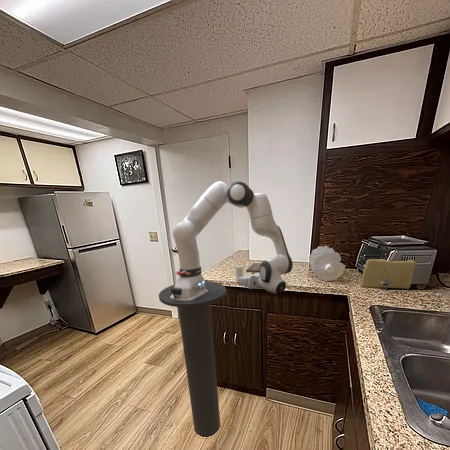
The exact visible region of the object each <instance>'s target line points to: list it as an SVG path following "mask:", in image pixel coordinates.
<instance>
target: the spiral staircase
mask: <svg viewBox="0 0 450 450" xmlns="http://www.w3.org/2000/svg"><path fill="white" fill-rule="evenodd" d="M308 259H309V260H308V265H309V268H310V269H311V272H312V273H313V276H314V277H317V278H318V279H319V280H320V281H326V282H330V281H334V280H338V278H339V277H340V276H342V275H343V274H344V270H345V269H346V265H345V264H344V263H342V262H341V261H342V257H341V255H340V253H339V252H336V251H335V250H334V249H333V247H329V246H327V245H324V246H319V245H318V246H317V248H315V249H313V250H311V253H310V254H309V256H308Z"/></svg>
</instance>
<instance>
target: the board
mask: <svg viewBox="0 0 450 450" xmlns="http://www.w3.org/2000/svg"><path fill="white" fill-rule="evenodd" d="M261 263H262V262H260V263H259V262H254V263H252V264H251V265H250V266H249V267H248V268H246V270H245V271H246V272H247V273H254V272H255V273H259V268H260V265H261Z"/></svg>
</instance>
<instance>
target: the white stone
mask: <svg viewBox="0 0 450 450" xmlns="http://www.w3.org/2000/svg"><path fill="white" fill-rule="evenodd" d="M234 269H235V271H234V273H235V282H238V278H239V277H240V276H241V275H242V276H244V265H240V264H239V265H235V266H234Z"/></svg>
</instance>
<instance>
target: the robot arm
mask: <svg viewBox="0 0 450 450" xmlns="http://www.w3.org/2000/svg"><path fill="white" fill-rule="evenodd" d="M226 204H230V205H232V206H233V207H236V208H240V209H242V208H246V209H247V212H248V214H249V220H250V225H251V228H252V231H253V232H254V233H256V234H257V235H258V236H261V237H265V238H268V239H270V240H271V241H272V244H273V247H274V249H275V252H276V257H273V258H269V259H265V260H263V261H262V262H260V263H261V265H260V268H259V273H258V272H251V274H247V275H243V276H242V275H241V276H240V277H239V278H238V281H237V283H238V284H239V285H240V286H242V287H245V288H247V289H249V290H255V289H256V290H257V289H258V290H263V291H265V292H268V293H270V294H274V295H280V294H282V293H283V292H284V291H285V290H286V288H287V282H286V281H285V280H284V279H283V278H282V276H281V275H287V274H289V273H291V271H292V269H293V265H294V262H293V260H292V257H291V256H290V254H289V251H288V247H287V244H286V241H285V238H284V234H283V231H282V229H281V227H280V226H279V225H278V224H277V223H276V221H275V218H274V216H273V215H274V214H273V211H272V207H271V203H270V200H269V197H268V195H267V194H266V193H264V192H257V193H254V191H253V190H252V189H251V187H250V186H249V185H248V184H247V183H246V182H244V181H242V180H235V181H233V182H231V183H230V184H229V185H228V184H226V183H225V182H223V181H221V180H217V181H215V182H213V183H212V184H211V185H210V186H209V187H208V188H207V189H206V190H205V191H204V192H203V193H202V195H201V196H199V198H198V199H197V200H196V202H195V203H194V204H193V206H192V207H191V208H190V210H189V211H188V213H186V215H185V217H184V218H183V219H182V220H181V221H179V222H177V223H176V224H175V225H174V227H173V230H172V237H173V239H174V243H175V246H176V250H177V254H178V261H179V270H177V271H176V275H177V276H178V278H177V280H176V282H175V284H174V285H175V286H174V288H172V289H171V294H172V295H171V297H170V299H172V300H176V301H193V300H195V299H197V298H198V297H200V296H202V295H204V294H206V293H208V290H206V287H205V281H206V280H205V277H204V276H203V275H202V266H201V261H200V260H201V259H200V252H199V248H198V243H197V237H198V236H199V235H200V234H201V232H202V231H203V230H204V229H205V227H206V226H207V225H208V224H209V223H210V222H211V220H213V218H214V217H215V216H216V215H217V214H218V212H219V211H220V210H221V209H222V208H223V207H224V206H225V205H226Z"/></svg>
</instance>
